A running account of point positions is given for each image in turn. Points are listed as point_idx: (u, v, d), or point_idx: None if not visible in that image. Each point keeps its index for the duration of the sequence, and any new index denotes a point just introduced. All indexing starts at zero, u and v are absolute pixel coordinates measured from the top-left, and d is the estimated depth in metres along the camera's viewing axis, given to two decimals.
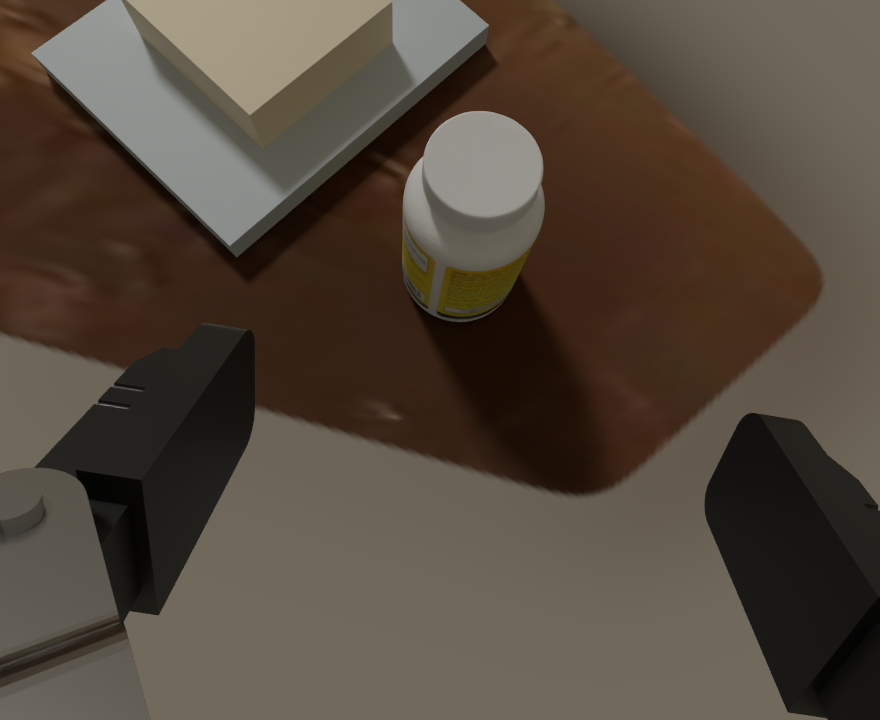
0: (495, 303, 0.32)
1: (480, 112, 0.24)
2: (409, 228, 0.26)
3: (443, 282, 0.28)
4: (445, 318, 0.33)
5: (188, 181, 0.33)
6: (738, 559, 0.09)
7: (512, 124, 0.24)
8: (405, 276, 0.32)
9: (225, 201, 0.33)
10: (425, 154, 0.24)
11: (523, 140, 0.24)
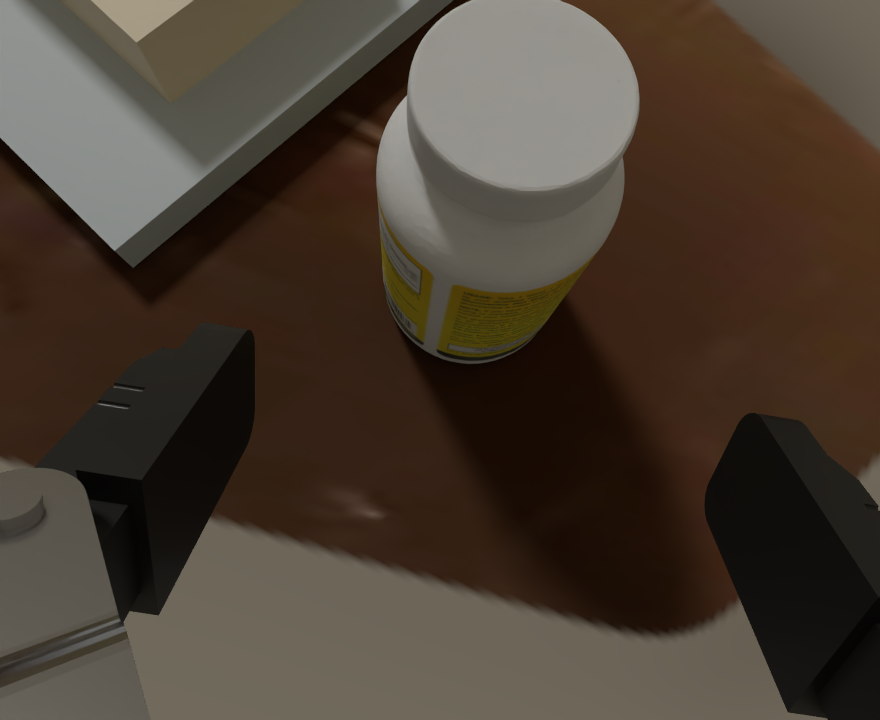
0: (528, 337, 0.20)
1: None
2: (387, 217, 0.15)
3: (447, 309, 0.17)
4: (450, 360, 0.21)
5: (54, 152, 0.21)
6: (738, 559, 0.09)
7: (577, 16, 0.13)
8: (387, 295, 0.21)
9: (110, 181, 0.21)
10: (412, 71, 0.12)
11: (599, 45, 0.13)
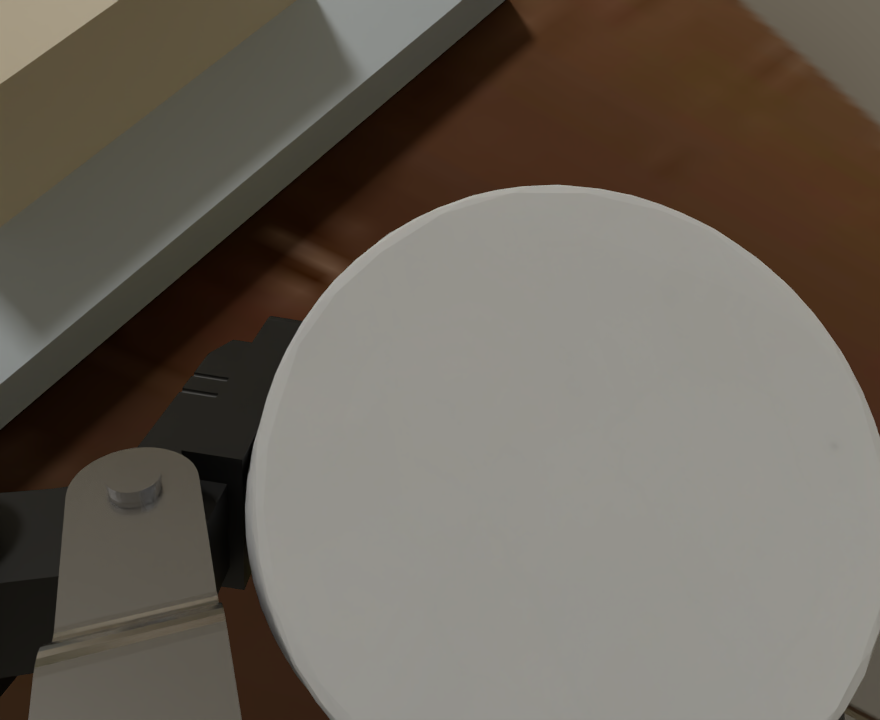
0: None
1: (552, 192, 0.05)
2: None
3: None
4: None
5: None
6: None
7: (711, 251, 0.05)
8: None
9: None
10: (263, 432, 0.04)
11: (774, 336, 0.05)
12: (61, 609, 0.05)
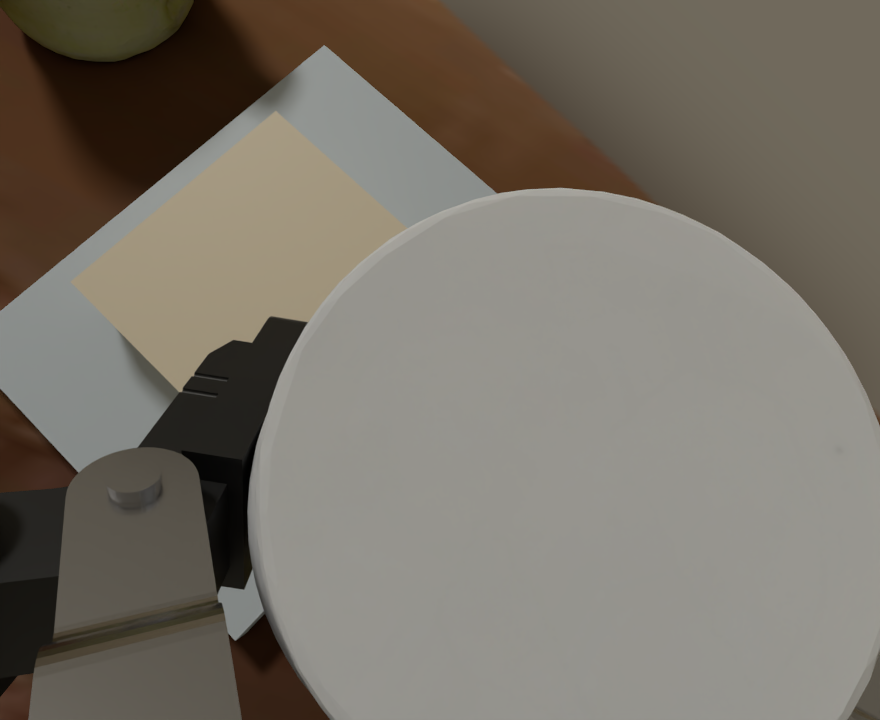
0: None
1: (556, 195, 0.05)
2: None
3: None
4: None
5: None
6: None
7: (716, 255, 0.05)
8: None
9: None
10: (267, 437, 0.04)
11: (779, 340, 0.05)
12: (62, 609, 0.05)
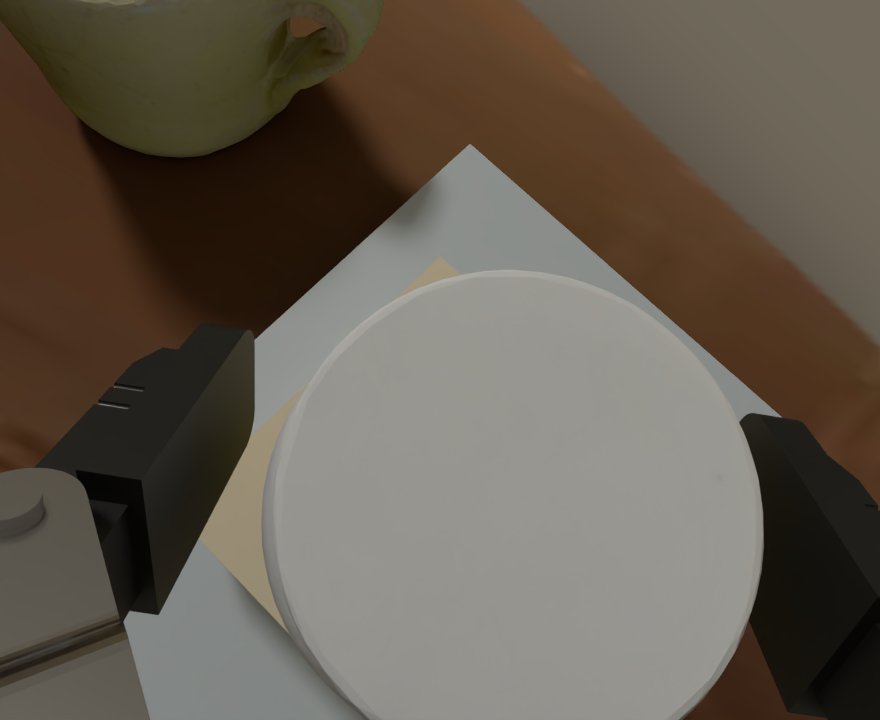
0: None
1: (506, 276, 0.06)
2: None
3: None
4: None
5: None
6: None
7: (630, 323, 0.06)
8: None
9: None
10: (281, 467, 0.06)
11: (677, 391, 0.06)
12: None
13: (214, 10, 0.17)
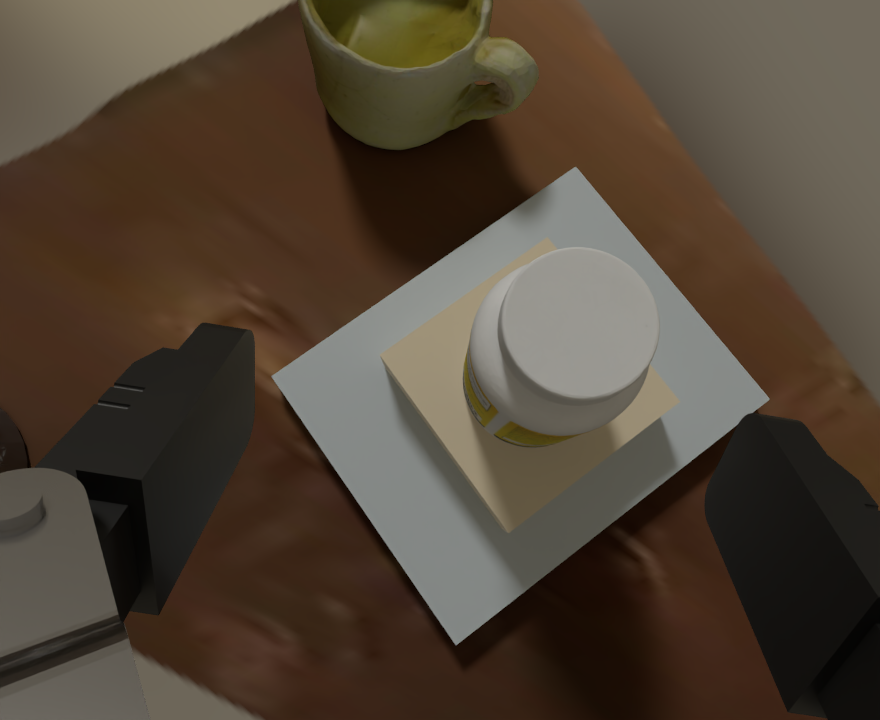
0: None
1: (588, 250, 0.19)
2: (473, 366, 0.21)
3: (505, 425, 0.23)
4: (503, 441, 0.28)
5: (419, 557, 0.30)
6: (738, 559, 0.09)
7: (627, 272, 0.18)
8: (464, 386, 0.27)
9: (456, 588, 0.30)
10: (507, 298, 0.18)
11: (638, 297, 0.18)
12: None
13: (442, 76, 0.29)
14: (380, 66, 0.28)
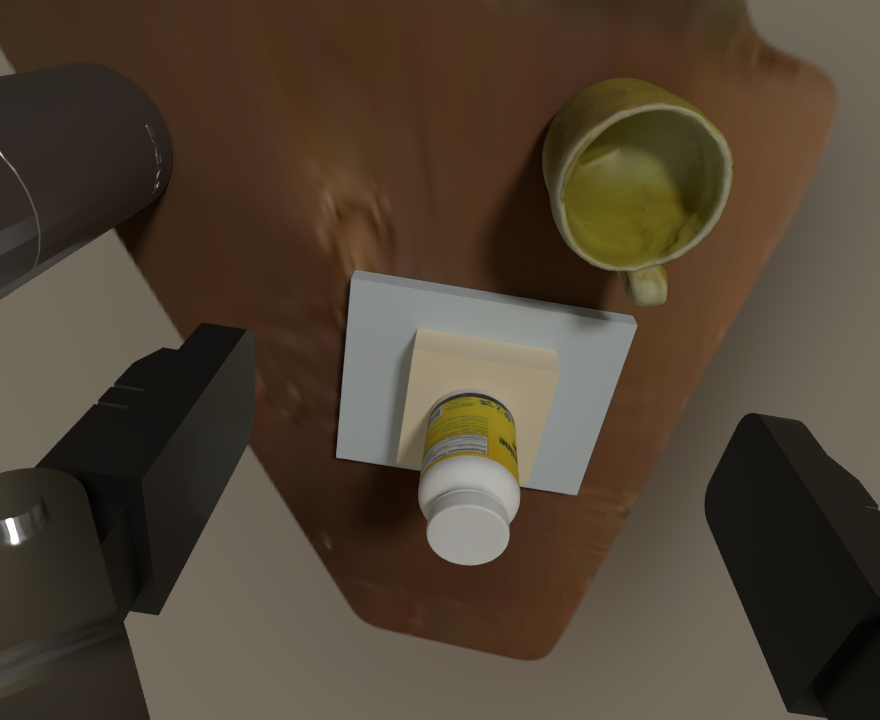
0: None
1: (500, 520, 0.34)
2: (425, 475, 0.37)
3: None
4: None
5: (351, 417, 0.49)
6: (738, 559, 0.09)
7: (505, 537, 0.35)
8: (434, 413, 0.42)
9: (356, 440, 0.50)
10: (449, 509, 0.34)
11: (498, 547, 0.35)
12: None
13: None
14: (570, 239, 0.34)
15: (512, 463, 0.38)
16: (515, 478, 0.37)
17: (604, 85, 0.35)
